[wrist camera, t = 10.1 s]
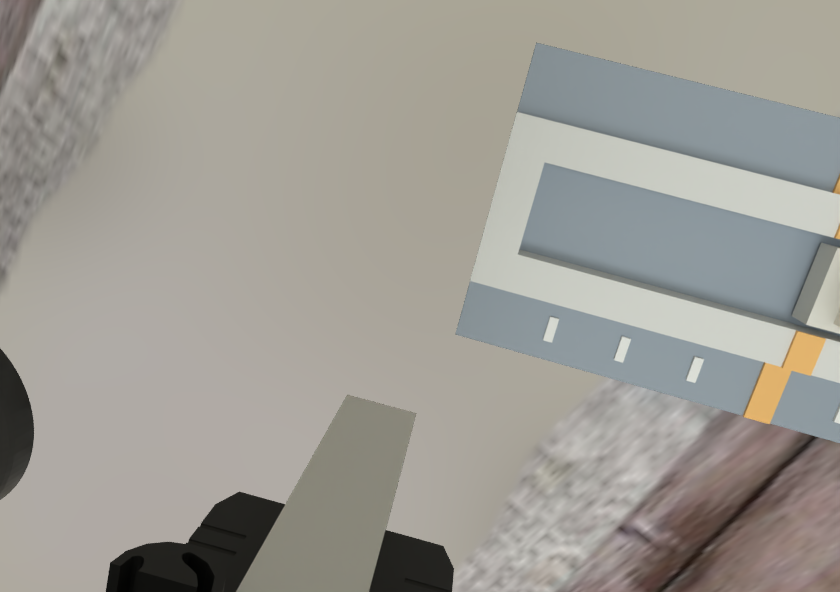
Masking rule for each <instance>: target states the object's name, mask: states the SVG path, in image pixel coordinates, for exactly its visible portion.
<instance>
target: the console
mask: <svg viewBox="0 0 840 592" xmlns="http://www.w3.org/2000/svg"><path fill="white" fill-rule="evenodd" d="M821 243H825V244H829V245H833V246H836V247H840V118H839V117H835V116H830V115H826V114H822V113H818V112H814V111H810V110H806V109H802V108H798V107H794V106H790V105H786V104H782V103H778V102H774V101H769V100H766V99H762V98H758V97H754V96H750V95H746V94H742V93H737V92H734V91H730V90H726V89H722V88H717V87H713V86H709V85H705V84H701V83H697V82H693V81H689V80H685V79H681V78H677V77H673V76H669V75H665V74H661V73H657V72H653V71H648V70H644V69H641V68H637V67H633V66H629V65H625V64H621V63H617V62H613V61H609V60H605V59H601V58H596V57H592V56H588V55H584V54H580V53H576V52H572V51H568V50H564V49H560V48H556V47H552V46H548V45H544V44H540V43H536V46H535V49H534V53H533V57H532V60H531V64H530V67H529V71H528V75H527V78H526V82H525V85H524V89H523V93H522V96H521V100H520V104H519V107H518V111H517V113H516V116H515V120H514V124H513V127H512V131H511V135H510V138H509V142H508V145H507V149H506V152H505V156H504V160H503V163H502V167H501V171H500V174H499V178H498V181H497V185H496V189H495V192H494V196H493V199H492V203H491V207H490V210H489V214H488V218H487V221H486V225H485V228H484V232H483V235H482V239H481V243H480V246H479V250H478V253H477V257H476V261H475V264H474V268H473V271H472V275H471V279H470V284H469V287H468V291H467V294H466V298H465V301H464V305H463V309H462V312H461V316H460V319H459V323H458V327H457V331H456V335H460V336H463V337H467V338H470V339H474V340H477V341H481V342H484V343H488V344H491V345H495V346H498V347H502V348H506V349H509V350H513V351H516V352H520V353H523V354H527V355H530V356H534V357H537V358H541V359H544V360H548V361H552V362H555V363H559V364H562V365H566V366H569V367H573V368H576V369H580V370H583V371H587V372H591V373H594V374H597V375H601V376H604V377H608V378H611V379H615V380H619V381H622V382H626V383H629V384H633V385H636V386H640V387H643V388H647V389H650V390H654V391H657V392H661V393H664V394H668V395H672V396H675V397H679V398H682V399H686V400H689V401H693V402H696V403H700V404H703V405H707V406H710V407H714V408H717V409H721V410H725V411H728V412H732V413H735V414H739V415H742V416H743V417H745V418H749V419H753V420H756V421H760V422H763V423H767V424H774V425H778V426H781V427H785V428H788V429H792V430H795V431H799V432H802V433H806V434H809V435H813V436H816V437H820V438H823V439H827V440H831V441H834V442H838V443H840V334H838V333H835V332H831V331H827V330H824V329H820V328H816V327H813V326H809V325H806V324H804V323H802V322H801V321H799V320H797V319H796V318H794V317H793V316H792V314H793V311H794V309H795V306H796V304H797V301H798V299H799V296H800V294H801V291H802V289H803V286H804V284H805V281H806V279H807V277H808V274H809V272H810V269H811V267H812V264H813V262H814V259H815V257H816V254H817V252H818V249H819V247H820V244H821Z"/></svg>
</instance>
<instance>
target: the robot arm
mask: <svg viewBox="0 0 840 592" xmlns="http://www.w3.org/2000/svg"><path fill="white" fill-rule="evenodd" d="M415 417H416V413H413V412H409V411H406V410H402V409H398V408H395V407H391V406H387V405H384V404H380V403H376V402H372V401H369V400H365V399H361V398H358V397H354V396H350V395H347V396H346V398H345V400H344V401H343V403H342V405H341V407H340V409H339V410H338V412H337V414H336V416H335V418H334V419H333V421H332V423H331V424H330V426H329V428H328V430H327V432H326V434H325V435H324V437H323V439H322V441H321V442H320V444H319V446H318V448H317V449H316V451H315V453H314V455H313V456H312V458H311V460H310V462H309V464H308V465H307V467H306V469H305V471H304V472H303V474H302V476H301V478H300V479H299V481H298V483H297V485H296V486H295V489H294V490H293V492H292V494H291V495H290V497H289V499H288V501H287V502H286V504H282V503H278V502H275V501H271V500H267V499H264V498H260V497H256V496H253V495H249V494H246V493H242V492H238V493H236V494H234V495H232V496H230V497H229V498H227V499H225V500H223V501H221V502H219V503H217V504H215V506H214V507H213V508H212V510H211V511H210V512H209V514H208V515H207V516H206V518H205V519H204V520H203V522H202V523H201V526H200V527H198V528H197V529H196V531H195V532H194V533H193V535H192V536H191V537H190V539H189V542H188V543H186V544H181V543H174V542H161V543H151V544H145V545H142V546H139V547H137V548H134V549H131V550H128V551H125V552H124V553H123V554H122V555H120V556H119V557H118V558H116V559H115V560H114V561H112V562H111V563H110V569H109V575H108V581H107V588H106V592H452V584H453V572H454V568H453V566H452V564H451V562H450V559H449V557H448V556H447V553H446V551H445V549H444V547H443V546H441V545H438V544H434V543H430V542H427V541H423V540H420V539H416V538H412V537H409V536H405V535H402V534H398V533H394V532H391V531H387V530H386V527H387V523H388V520H389V516H390V512H391V508H392V504H393V500H394V497H395V493H396V489H397V486H398V482H399V477H400V474H401V470H402V466H403V463H404V459H405V455H406V451H407V447H408V444H409V440H410V436H411V432H412V428H413V424H414V420H415ZM33 440H34V424H33V415H32V410H31V405H30V402H29V398H28V395H27V392H26V390H25V387H24V385H23V383H22V380H21V379H20V376H19V375H18V373H17V371H16V369H15V368H14V366H13V365H12V363H11V362H10V360H9V359H8V358H7V356H6V355H5V354H4V352H3V351H2V350H1V349H0V500H1V499H2V498H3V497H5V496H6V495H7V494H8V493H9V492H10V491H11V490H12V489H13V488H14V487H15V486H16V485H17V484H18V482H19V481H20V479H21V478H22V476H23V474H24V472H25V470H26V468H27V466H28V463H29V460H30V457H31V453H32V448H33Z"/></svg>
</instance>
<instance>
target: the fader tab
mask: <svg viewBox="0 0 840 592" xmlns="http://www.w3.org/2000/svg"><path fill="white" fill-rule="evenodd" d="M792 316H793V317H794V318H796V319H797V320H799V321H801V322H802V323H804V324H806V325H809V326H813V327H816V328H820V329H824V330H827V331H831V332H835V333H838V334H840V247H836V246H833V245H829V244H825V243H821V244H820V247H819V249H818V252H817V254H816V257H815V259H814V262H813V264H812V267H811V269H810V272H809V274H808V277H807V279H806V281H805V284H804V286H803V289H802V291H801V294H800V296H799V299H798V301H797V304H796V306H795V309H794V311H793V314H792Z"/></svg>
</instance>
